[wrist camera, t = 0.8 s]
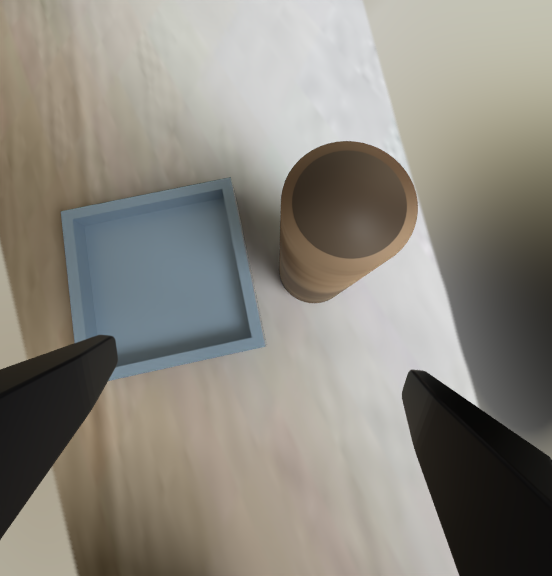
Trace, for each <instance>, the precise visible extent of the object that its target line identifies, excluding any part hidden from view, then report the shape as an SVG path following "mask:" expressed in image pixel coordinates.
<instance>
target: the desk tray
mask: <svg viewBox="0 0 552 576" xmlns="http://www.w3.org/2000/svg"><path fill="white" fill-rule="evenodd" d="M61 218H62V228H63V237H64V247H65V256H66V266H67V275H68V285H69V294H70V303H71V313H72V322H73V332H74V341H75V343H77V342H80V341H82V340H85V339H88V338H91V337H94V336H97V335H110V336H113V337H114V338H115V340H116V347H117V354H118V363H117V366H116V368H115V369H114V371H113V373H112V375H111V377H110V378H109V380H108V381H110V380H115V379H119V378H124V377H128V376H133V375H138V374H142V373H147V372H151V371H156V370H160V369H165V368H170V367H174V366H179V365H183V364H188V363H192V362H197V361H201V360H206V359H211V358H215V357H220V356H224V355H229V354H233V353H238V352H243V351H247V350H252V349H256V348H261V347H265V346H266V341H265V336H264V331H263V326H262V321H261V317H260V312H259V307H258V302H257V297H256V292H255V288H254V283H253V278H252V273H251V268H250V263H249V258H248V254H247V249H246V244H245V239H244V234H243V229H242V225H241V220H240V215H239V210H238V205H237V200H236V195H235V191H234V187H233V184H232V181H231V177H229V178H224V179H219V180H214V181H209V182H204V183H199V184H194V185H189V186H184V187H180V188H175V189H170V190H165V191H160V192H155V193H150V194H145V195H140V196H135V197H130V198H125V199H120V200H115V201H110V202H105V203H100V204H95V205H90V206H85V207H80V208H75V209H70V210H65V211H61Z"/></svg>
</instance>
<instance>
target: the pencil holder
mask: <svg viewBox="0 0 552 576" xmlns="http://www.w3.org/2000/svg"><path fill="white" fill-rule="evenodd" d="M417 213H418V202H417V196H416V192H415V189H414V185H413V183H412V181H411V179H410V177H409V176H408V174H407V172H406V171H405V170H404V168H403V167H402V166H401V165H400V164H399V163H398V162H397V161H396V160H395V159H394V158H393V157H391V156H390V155H389V154H387V153H386V152H384V151H382V150H381V149H379V148H376V147H374V146H372V145H368V144H365V143H360V142H352V141H342V142H334V143H329V144H326V145H323V146H320V147H318V148H316V149H314V150H312V151H310V152H309V153H307V154H306V155H305V156H303V157H302V158H301V159H300V160H299V161H298V162H297V163H296V164H295V165H294V167H293V168H292V169H291V171H290V172H289V174H288V176H287V178H286V180H285V183H284V186H283V190H282V195H281V220H280V260H279V272H280V278H281V281H282V283H283V285H284V287H285V288H286V290H287V291H288V292H289V293H290V294H291V295H292V296H294V297H295V298H297V299H299V300H301V301H304V302H308V303H321V302H325V301H328V300H330V299H332V298H333V297H335V296H336V295H338V294H339V293H340V292H342V291H343V290H345V289H346V288H348V287H349V286H351V285H352V284H354V283H355V282H357V281H358V280H360V279H361V278H362V277H364V276H365V275H367V274H368V273H370V272H371V271H373V270H374V269H376V268H377V267H379V266H380V265H381V264H383V263H384V262H386V261H387V260H389V259H390V258H392V257H393V256H395V255H396V254H397V253H398V252H399V251H400V250H401V249H402V248H403V247H404V245H405V244H406V243H407V241H408V240H409V238H410V236H411V235H412V232H413V230H414V228H415V224H416V220H417Z"/></svg>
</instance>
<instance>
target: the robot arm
mask: <svg viewBox="0 0 552 576" xmlns="http://www.w3.org/2000/svg"><path fill="white" fill-rule="evenodd" d="M117 363H118V354H117V347H116V340H115V338H114V337H113V336H110V335H97V336H94V337H91V338H88V339H85V340H82V341H80V342H77V343H74V344H71V345H68V346H66V347H63V348H60V349H57V350H54V351H51V352H49V353H46V354H43V355H40V356H37V357H35V358H32V359H29V360H26V361H23V362H20V363H18V364H15V365H12V366H9V367H6V368H3V369H1V370H0V539H1V538H2V536H3V535H4V534H5V532H6V531H7V529H8V528H9V527H10V525H11V524H12V522H13V521H14V519H15V518H16V516H17V515H18V514H19V512H20V511H21V509H22V508H23V507H24V505H25V504H26V502H27V501H28V499H29V498H30V497H31V495H32V494H33V492H34V491H35V490H36V488H37V487H38V485H39V484H40V482H41V481H42V480H43V478H44V477H45V475H46V474H47V473H48V471H49V470H50V468H51V467H52V465H53V464H54V463H55V461H56V460H57V458H58V457H59V456H60V454H61V453H62V451H63V450H64V448H65V447H66V446H67V444H68V443H69V441H70V440H71V439H72V437H73V436H74V434H75V433H76V431H77V430H78V429H79V427H80V426H81V424H82V423H83V421H84V420H85V419H86V417H87V416H88V414H89V413H90V411H91V410H92V408H93V406H94V405H95V403H96V401H97V400H98V398H99V396H100V394H101V393H102V391H103V389H104V387H105V385H106V384H107V382H108V380H109V378H110V377H111V375H112V373H113V371H114V369H115V368H116V366H117ZM402 400H403V404H404V409H405V413H406V417H407V421H408V425H409V429H410V434H411V438H412V442H413V445H414V449H415V452H416V455H417V458H418V461H419V464H420V466H421V469H422V472H423V475H424V478H425V480H426V483H427V486H428V489H429V492H430V494H431V497H432V500H433V503H434V506H435V509H436V511H437V514H438V517H439V520H440V523H441V525H442V528H443V531H444V534H445V537H446V539H447V542H448V545H449V548H450V551H451V554H452V556H453V559H454V562H455V565H456V568H457V570H458V573H459V576H552V460H551V458H550V457H549V456H548V455H546V454H545V453H543V452H542V451H540V450H539V449H538V448H536V447H535V446H533V445H532V444H530V443H529V442H527V441H526V440H524V439H523V438H521V437H520V436H519V435H517V434H516V433H514V432H513V431H511V430H510V429H508V428H507V427H506V426H504V425H503V424H501V423H500V422H498V421H497V420H495V419H494V418H492V417H491V416H490V415H488V414H487V413H485V412H484V411H482V410H481V409H479V408H478V407H476V406H475V405H474V404H472V403H471V402H469V401H468V400H466V399H465V398H463V397H462V396H460V395H459V394H458V393H456V392H455V391H453V390H452V389H450V388H449V387H447V386H446V385H444V384H443V383H442V382H440V381H439V380H437V379H436V378H434V377H433V376H431V375H430V374H428V373H427V372H425V371H421V370H410V371H409V372H408V375H407V378H406V381H405V384H404V387H403V391H402Z"/></svg>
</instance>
